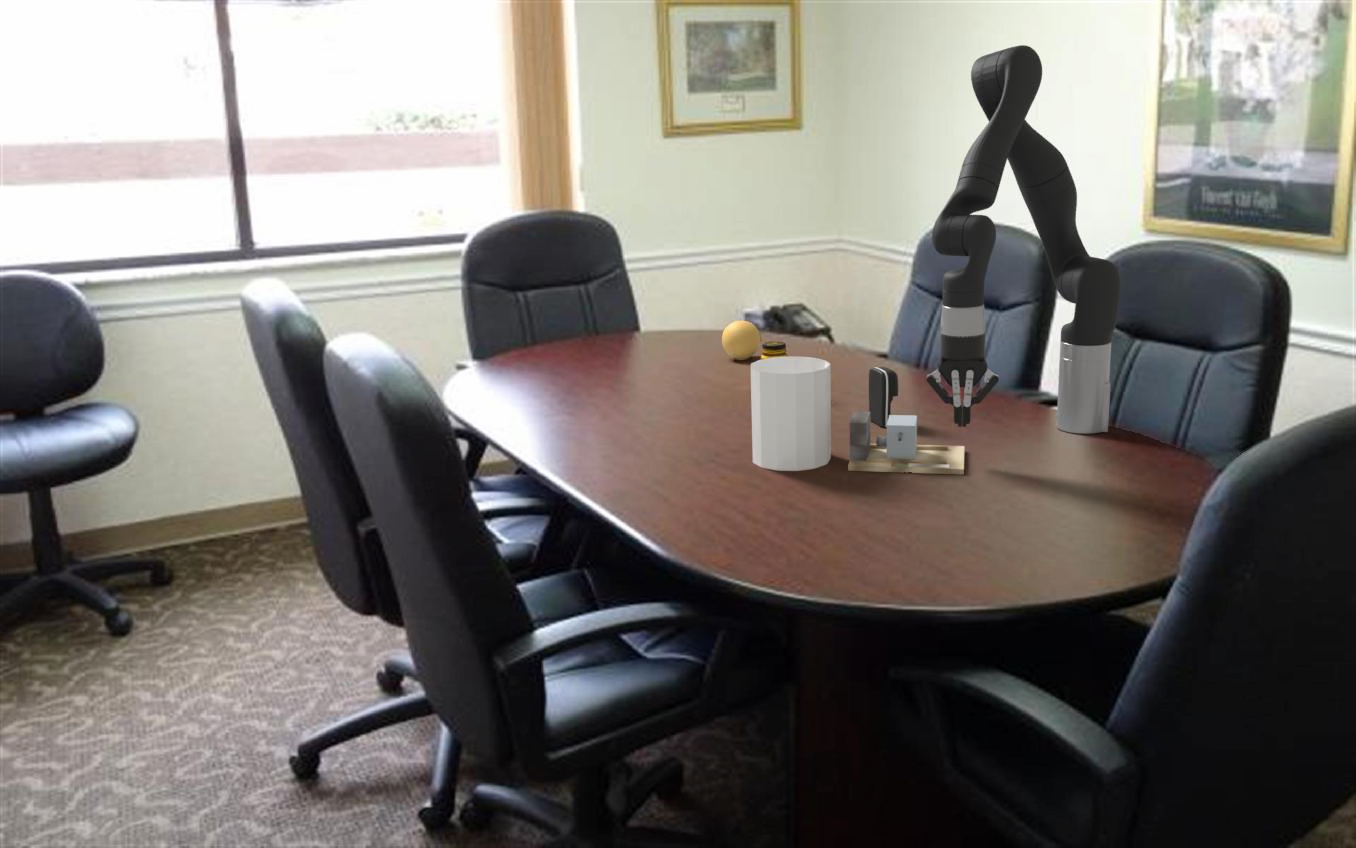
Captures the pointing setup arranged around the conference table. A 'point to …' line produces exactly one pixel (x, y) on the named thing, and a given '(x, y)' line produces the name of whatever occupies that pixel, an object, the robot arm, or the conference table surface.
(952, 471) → the wooden sliding jig
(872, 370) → the battery charger
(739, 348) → the stress ball
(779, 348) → the condiment
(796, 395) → the container
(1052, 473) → the conference table surface
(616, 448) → the conference table surface
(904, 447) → the block
